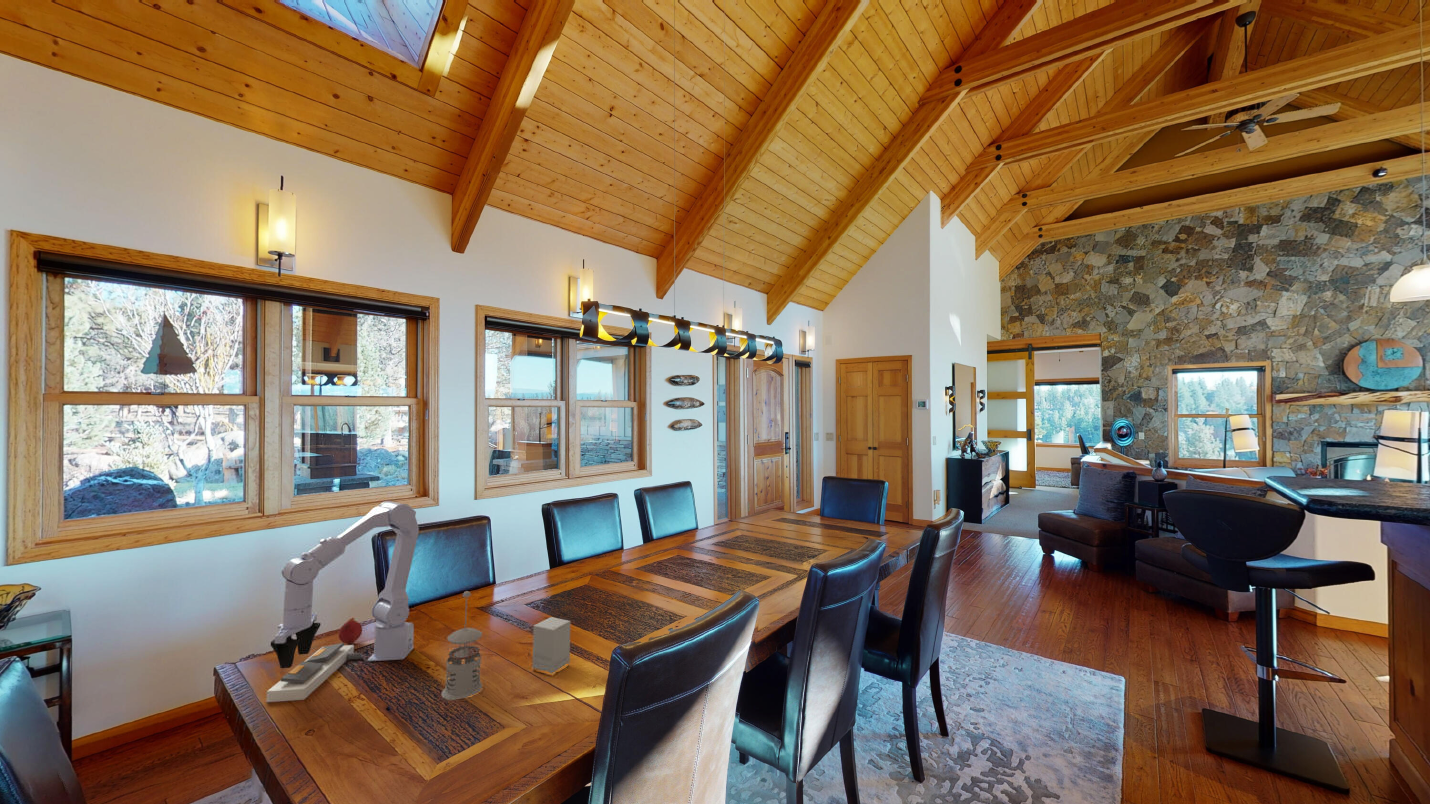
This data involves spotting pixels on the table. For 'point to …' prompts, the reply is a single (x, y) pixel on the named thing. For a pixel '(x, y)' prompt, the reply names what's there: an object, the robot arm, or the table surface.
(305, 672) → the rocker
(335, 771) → the table surface
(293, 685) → the rocker switch panel
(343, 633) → the onion
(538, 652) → the supplement box
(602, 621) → the table surface
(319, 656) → the rocker
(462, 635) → the french press
